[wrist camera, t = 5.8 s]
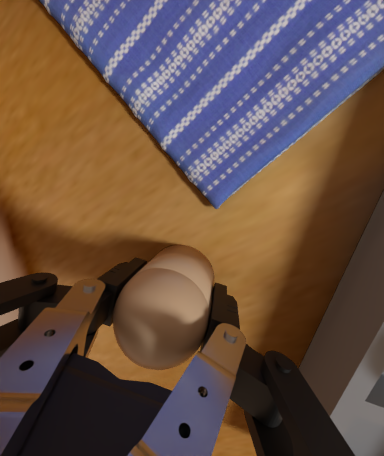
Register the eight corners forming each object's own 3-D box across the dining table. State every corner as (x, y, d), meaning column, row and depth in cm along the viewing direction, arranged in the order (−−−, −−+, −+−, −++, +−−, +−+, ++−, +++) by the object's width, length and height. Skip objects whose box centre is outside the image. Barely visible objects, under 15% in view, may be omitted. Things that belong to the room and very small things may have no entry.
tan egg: (222, 256, 13) (220, 318, 6) (204, 315, 14) (187, 417, 7) (157, 236, 13) (97, 276, 7) (144, 294, 14) (82, 374, 8)
